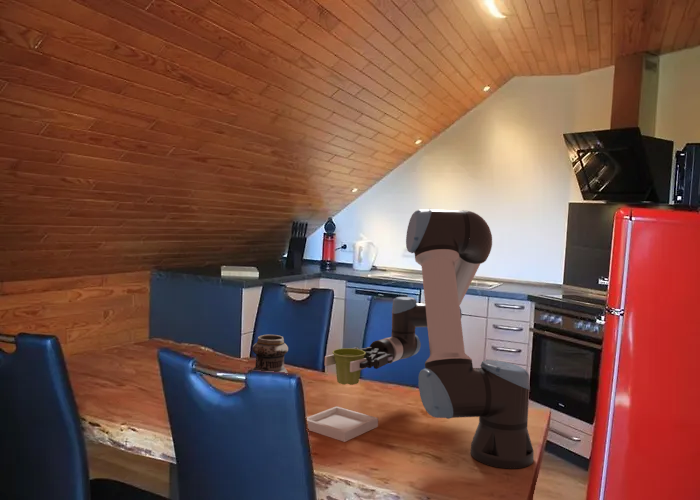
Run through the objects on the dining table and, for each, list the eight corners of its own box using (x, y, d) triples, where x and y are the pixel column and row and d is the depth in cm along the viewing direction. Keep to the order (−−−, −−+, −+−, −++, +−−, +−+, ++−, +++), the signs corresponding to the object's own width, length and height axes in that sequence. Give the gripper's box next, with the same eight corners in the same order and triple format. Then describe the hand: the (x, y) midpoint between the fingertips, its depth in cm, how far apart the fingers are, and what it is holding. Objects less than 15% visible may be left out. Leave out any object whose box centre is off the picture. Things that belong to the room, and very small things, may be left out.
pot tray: (377, 426, 163) (378, 417, 163) (344, 441, 151) (344, 432, 151) (336, 414, 172) (336, 406, 172) (301, 427, 160) (302, 419, 160)
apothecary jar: (276, 397, 187) (277, 342, 186) (243, 392, 191) (245, 338, 190) (293, 387, 198) (294, 335, 197) (262, 383, 202) (263, 332, 201)
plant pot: (371, 382, 164) (372, 352, 164) (348, 389, 157) (349, 357, 157) (347, 376, 171) (348, 346, 170) (324, 381, 164) (325, 351, 163)
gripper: (414, 369, 171) (368, 385, 154) (357, 357, 185) (309, 370, 167) (415, 344, 171) (369, 357, 153) (358, 334, 184) (310, 344, 166)
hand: (338, 364), depth 160 cm, fingers closed on plant pot, 8 cm apart
